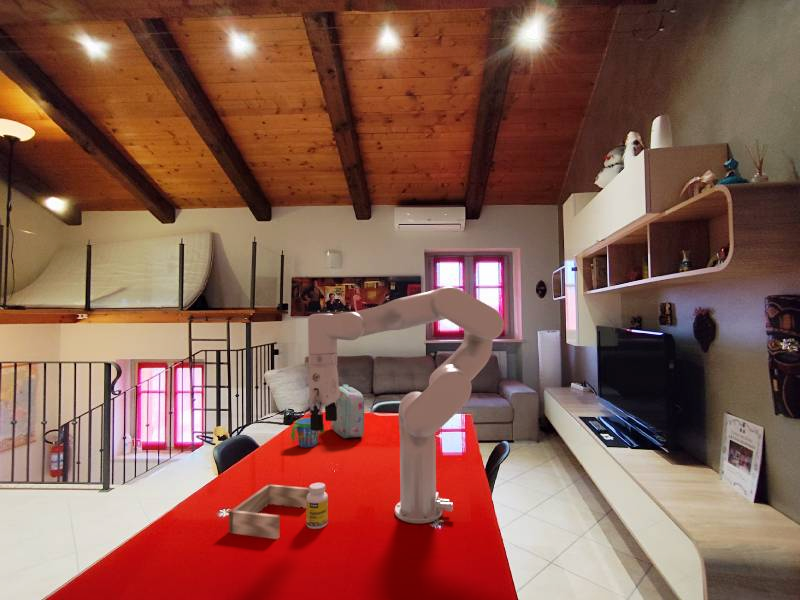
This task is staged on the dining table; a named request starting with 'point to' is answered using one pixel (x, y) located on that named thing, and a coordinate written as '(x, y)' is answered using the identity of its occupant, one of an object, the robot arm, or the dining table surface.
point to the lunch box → (349, 413)
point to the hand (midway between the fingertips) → (324, 425)
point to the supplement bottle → (317, 506)
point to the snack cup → (305, 433)
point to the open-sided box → (259, 524)
